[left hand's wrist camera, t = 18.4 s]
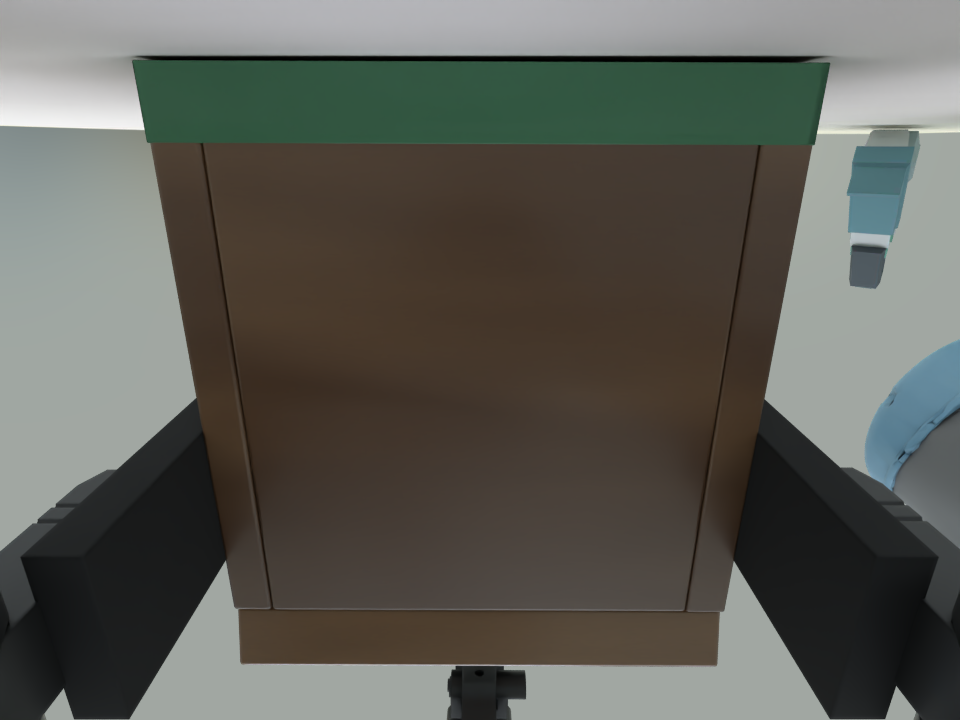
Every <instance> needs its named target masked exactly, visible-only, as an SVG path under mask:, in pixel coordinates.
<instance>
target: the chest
mask: <svg viewBox="0 0 960 720" xmlns="http://www.w3.org/2000/svg"><path fill="white" fill-rule="evenodd" d="M132 63H133V68H134V74H135V79H136V85H137V90H138V96H139V101H140V106H141V112H142V117H143V123H144V128H145V134H146V139H147V142H148V143H151V149H152V154H153V160H154V165H155V171H156V176H157V182H158V187H159V193H160V198H161V204H162V209H163V215H164V220H165V226H166V232H167V237H168V242H169V248H170V254H171V259H172V265H173V270H174V276H175V281H176V286H177V292H178V298H179V303H180V309H181V314H182V320H183V325H184V331H185V336H186V342H187V347H188V353H189V359H190V364H191V370H192V375H193V381H194V386H195V392H196V397H197V403H198V408H199V414H200V419H201V425H202V431H203V436H204V442H205V447H206V453H207V458H208V464H209V469H210V475H211V480H212V486H213V491H214V497H215V502H216V508H217V513H218V518H219V524H220V529H221V535H222V540H223V546H224V551H225V556H226V563H227V569H228V574H229V580H230V585H231V591H232V596H233V602H234V607H235V608H236V609H270V608H271V607H272V606H273V608H274V609H286V610H528V611H684V610H685V609H686V611H688V612H723V611H724V609H725V604H726V599H727V593H728V588H729V583H730V577H731V572H732V567H733V562H734V556H735V551H736V546H737V541H738V535H739V530H740V525H741V519H742V514H743V509H744V503H745V498H746V492H747V487H748V482H749V476H750V471H751V466H752V460H753V455H754V449H755V444H756V439H757V433H758V430H759V424H760V419H761V414H762V408H763V403H764V398H765V393H766V387H767V382H768V377H769V372H770V366H771V361H772V356H773V350H774V345H775V340H776V334H777V329H778V324H779V319H780V313H781V308H782V303H783V298H784V292H785V287H786V282H787V276H788V271H789V266H790V261H791V255H792V250H793V245H794V239H795V234H796V229H797V224H798V218H799V213H800V208H801V203H802V197H803V192H804V187H805V181H806V176H807V171H808V166H809V160H810V155H811V150H812V145H815V140H816V135H817V130H818V125H819V119H820V114H821V109H822V104H823V98H824V93H825V88H826V83H827V77H828V72H829V67H830V63H760V62H490V61H220V60H133V61H132Z"/></svg>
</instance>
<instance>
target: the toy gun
mask: <svg viewBox="0 0 960 720" xmlns="http://www.w3.org/2000/svg"><path fill="white" fill-rule="evenodd" d="M919 149H920V144H919V131H908V130H873V131H872V132H871V133H870V135H869V137H868V139H867V141H866V144H865V146H857V147H856V151H855V154H854V158H853V162H852V176H851V180H850V183H849V187H848V191H847V196H850V207H849V226H848V232H851V233H850V245H852V246H851V252H850V255H851V263H850V278H849V280H850V285H851V286H855V287H862V288H870V289H871V288H876V287H877V286H878V285H879V283H880V280H881V276H882V273H883V268H884V263H885V257H886V254H887V250H888V247H889V244H890V242H892V239H893V235H894V234H895V231H896V228H898V224H899V221H900V217H901V212H902V207H903V202H904V197H905V193H906V188H907V183H908V182H909V181H910V180H911V178H912V176H913V173H914V169H915V165H916V161H917V157H918V153H919Z"/></svg>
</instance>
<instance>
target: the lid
mask: <svg viewBox="0 0 960 720" xmlns="http://www.w3.org/2000/svg"><path fill="white" fill-rule="evenodd" d="M238 611H239V636H240V662H241V664H243V665H436V666H437V665H438V666H439V665H440V666H441V665H443V666H676V667H715V666H717V659H718V638H719V616H720V612H688V611H686V609H685V610H684V611H528V610H286V609H274V608H273V606H272V607H271V608H270V609H238Z"/></svg>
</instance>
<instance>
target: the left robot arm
mask: <svg viewBox="0 0 960 720" xmlns="http://www.w3.org/2000/svg"><path fill="white" fill-rule="evenodd" d="M225 561H226V556H225V551H224V546H223V540H222V535H221V529H220V524H219V518H218V513H217V508H216V502H215V497H214V491H213V486H212V480H211V475H210V469H209V464H208V458H207V453H206V447H205V442H204V436H203V431H202V425H201V419H200V414H199V408H198V403H197V398H196V399H195V400H194V401H193V402H191V403H190V404H189V405H188V406H187V407H186V408H185V409H184V410H183V411H181V412H180V413H179V414H178V415H177V416H176V417H175V418H174V419H173V420H171V421H170V422H169V423H168V424H167V425H166V426H165V427H164V428H163V429H162V430H160V431H159V432H158V433H157V434H156V435H155V436H154V437H153V438H152V439H150V440H149V441H148V442H147V443H146V444H145V445H144V446H143V447H142V448H141V449H139V450H138V451H137V452H136V453H135V454H134V455H133V456H132V457H131V458H129V459H128V460H127V461H126V462H125V463H124V464H123V465H122V466H121V467H119V468H118V469H117V470H106V471H104V472H102V473H100V474H98V475H97V476H95V477H93V478H91V479H89V480H87V481H85V482H83V483H81V484H79V485H78V486H76V487H75V488H74V489H73V490H72V491H70V492H69V493H68V494H67V495H66V496H65V497H63V498H62V499H61V500H60V501H59V502H58V503H56V507H55V508H51V509H49V510H48V511H47V512H46V513H45V514H44V515H42V516H41V517H40V518H39V519H38V522H37V524H32V525H31V526H29V527H28V528H27V529H26V530H25V531H24V532H23V533H21V534H20V535H19V536H18V537H17V538H15V539H14V540H13V541H12V542H11V543H10V544H8V545H7V546H6V547H5V548H4V549H3V550H1V551H0V720H46V717H45V715H44V713H45V712H46V711H47V709H48V708H49V707H50V705H51V704H52V703H53V701H54V700H55V699H56V697H57V696H58V695H59V694H60V692H61V691H62V690H63V688H64V690H65V693H66V696H67V699H68V702H69V705H70V708H71V711H72V714H73V717H74V719H130V717H131V715H132V714H133V712H134V711H135V709H136V707H137V706H138V704H139V702H140V701H141V699H142V697H143V696H144V694H145V692H146V691H147V689H148V687H149V686H150V684H151V683H152V681H153V679H154V678H155V676H156V674H157V673H158V671H159V669H160V668H161V666H162V664H163V663H164V661H165V659H166V658H167V656H168V655H169V653H170V651H171V650H172V648H173V646H174V645H175V643H176V641H177V640H178V638H179V636H180V635H181V633H182V631H183V630H184V628H185V627H186V625H187V623H188V622H189V620H190V618H191V617H192V615H193V613H194V612H195V610H196V608H197V607H198V605H199V603H200V602H201V600H202V599H203V597H204V595H205V594H206V592H207V590H208V589H209V587H210V585H211V584H212V582H213V580H214V579H215V577H216V575H217V574H218V572H219V570H220V569H221V567H222V566H223V564H224V562H225ZM734 562H735V563H736V565H737V567H738V568H739V570H740V571H741V573H742V575H743V576H744V578H745V580H746V581H747V583H748V585H749V586H750V588H751V589H752V591H753V593H754V595H755V596H756V598H757V599H758V601H759V603H760V604H761V606H762V608H763V609H764V611H765V613H766V614H767V616H768V617H769V619H770V621H771V622H772V624H773V626H774V627H775V629H776V631H777V632H778V634H779V636H780V637H781V639H782V641H783V642H784V644H785V646H786V647H787V649H788V650H789V652H790V654H791V655H792V657H793V659H794V660H795V662H796V664H797V665H798V667H799V669H800V670H801V672H802V673H803V675H804V677H805V679H806V680H807V682H808V684H809V685H810V687H811V688H812V690H813V692H814V693H815V695H816V697H817V698H818V700H819V702H820V703H821V705H822V706H823V708H824V710H825V712H826V713H827V715H828V716H829V718H830V719H885V718H886V715H887V712H888V709H889V706H890V703H891V700H892V697H893V694H894V691H895V688H896V686H897V687H898V688H899V690H900V691H901V692H902V694H903V695H904V696H905V698H906V699H907V700H908V702H909V703H910V704H911V705H912V707H913V708H914V709H915V711H916V715H915V717H914V720H960V549H959V548H958V547H957V546H956V545H954V544H953V543H952V542H951V541H950V540H949V539H947V538H946V537H945V536H944V535H943V534H942V533H940V532H939V531H938V530H937V529H936V528H934V527H933V526H932V525H931V524H930V523H929V522H927V521H923V520H922V517H921V516H920V515H919V514H918V513H917V512H916V511H914V510H913V509H912V508H911V507H910V506H908V505H904V501H903V500H901V499H900V498H899V497H898V496H897V495H895V494H894V493H893V492H892V491H891V490H890V489H888V488H887V487H886V486H885V485H884V484H883V483H881V482H879V481H877V480H875V479H873V478H871V477H869V476H867V475H865V474H864V473H862V472H860V471H858V470H856V469H854V468H840V467H839V466H838V465H837V464H836V463H834V462H833V461H832V460H831V459H830V458H829V457H828V456H827V455H826V454H824V453H823V452H822V451H821V450H820V449H819V448H818V447H817V446H816V445H814V444H813V443H812V442H811V441H810V440H809V439H808V438H807V437H806V436H805V435H803V434H802V433H801V432H800V431H799V430H798V429H797V428H796V427H794V426H793V425H792V424H791V423H790V422H789V421H788V420H787V419H786V418H785V417H783V416H782V415H781V414H780V413H779V412H778V411H777V410H776V409H775V408H774V407H772V406H771V405H770V404H769V403H768V402H767V401H766V400H765V399H764V403H763V408H762V414H761V419H760V424H759V430H758V433H757V439H756V444H755V449H754V455H753V460H752V466H751V471H750V476H749V482H748V487H747V492H746V498H745V503H744V509H743V514H742V519H741V525H740V530H739V535H738V541H737V546H736V551H735V556H734Z"/></svg>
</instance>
